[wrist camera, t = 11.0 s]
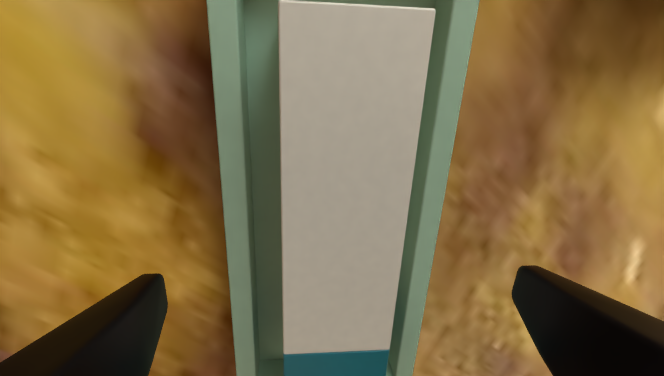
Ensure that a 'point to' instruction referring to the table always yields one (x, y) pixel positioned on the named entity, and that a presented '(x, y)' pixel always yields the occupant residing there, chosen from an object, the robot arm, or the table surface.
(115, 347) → the robot arm
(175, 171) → the table surface
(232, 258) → the pen tray
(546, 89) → the table surface
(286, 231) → the beige and teal block
